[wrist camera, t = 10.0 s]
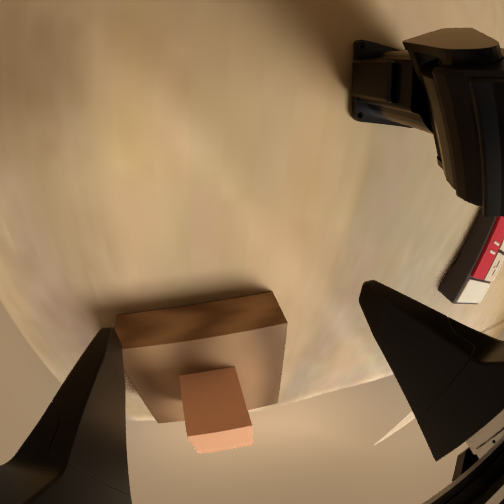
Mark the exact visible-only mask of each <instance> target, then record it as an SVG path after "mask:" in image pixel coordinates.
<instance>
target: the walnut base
mask: <svg viewBox="0 0 504 504" xmlns="http://www.w3.org/2000/svg"><path fill="white" fill-rule="evenodd" d="M115 331H116V333H117V335H118V337H119V339H120V341H121V344H122V352H123V366H124V371H125V373H126V374H127V376H128V378H129V379H130V381H131V383H132V384H133V386H134V388H135V389H136V391H137V392H138V394H139V396H140V397H141V399H142V400H143V402H144V403H145V405H146V406H147V408H148V409H149V411H150V412H151V414H152V415H153V417H154V418H155V419H156V421H157V422H158V423H165V422H176V421H184V420H185V418H184V411H183V404H182V396H181V388H180V380H179V375H187V374H194V373H200V372H206V371H212V370H218V369H224V368H229V367H235V368H236V372H237V375H238V379H239V382H240V386H241V389H242V393H243V396H244V400H245V403H246V407H247V410H250V409H255V408H259V407H263V406H268V405H272V404H276V403H278V398H279V390H280V383H281V375H282V367H283V358H284V350H285V341H286V332H287V321H286V319H285V317H284V314H283V312H282V310H281V308H280V306H279V304H278V302H277V300H276V298H275V296H274V294H273V292H267V293H261V294H256V295H250V296H244V297H238V298H232V299H226V300H220V301H214V302H208V303H201V304H195V305H188V306H181V307H175V308H168V309H160V310H153V311H146V312H138V313H130V314H122V315H117V319H116V326H115Z"/></svg>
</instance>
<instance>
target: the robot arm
mask: <svg viewBox="0 0 504 504" xmlns="http://www.w3.org/2000/svg"><path fill="white" fill-rule="evenodd" d="M402 42H403V45H404V47H405V50H408V51H400V50H397V49H394V48H390V47H387V46H384V45H380V44H377V43H373V42H369V41H366V40H356V41H355V42H354V62H353V74H352V94H353V100H352V117H353V119H354V120H356V121H359V122H369V123H378V124H387V125H395V126H402V127H409V128H413V127H414V128H417V129H420V130H423V131H426V132H429V133H432V134H433V135H434V139H435V144H436V149H437V154H438V156H437V161H438V165H439V166H440V167H441V168H442V169H443V170H444V174H445V177H446V180H447V181H448V182H449V184H450V185H451V186H452V187H453V188H454V189H455V190H456V195H457V196H458V197H460V198H462V199H463V200H465V201H467V202H469V203H472V204H474V205H477V206H480V207H483V215H484V216H485V217H493V216H502V217H504V49H503V48H500V45H499V42H498V41H496V40H494V39H492V38H491V37H489V36H487V35H485V34H483V33H481V32H479V31H477V30H475V29H473V28H444V29H440V30H436V31H433V32H430V33H426V34H423V35H420V36H417V37H414V38H410V39H407V40H405V41H402ZM360 44H361V45H362V48H360ZM358 113H360V116H359V117H358ZM359 303H360V306H361V308H362V311H363V313H364V315H365V317H366V320H367V322H368V324H369V327H370V329H371V331H372V334H373V336H374V338H375V340H376V342H377V343H378V345H379V347H380V349H381V351H382V352H383V354H384V356H385V358H386V360H387V362H388V364H389V366H390V367H391V369H392V371H393V373H394V375H395V377H396V379H397V381H398V383H399V385H400V387H401V389H402V391H403V393H404V395H405V397H406V399H407V401H408V403H409V405H410V407H411V409H412V411H413V413H414V415H415V417H416V419H417V422H418V424H419V426H420V428H421V430H422V432H423V435H424V437H425V439H426V441H427V443H428V446H429V448H430V450H431V452H432V455H433V457H434V459H435V461H438V460H439V459H441V458H442V457H444V456H445V455H447V454H448V453H450V452H451V451H453V450H454V449H455V448H457V447H458V446H460V445H461V444H462V443H464V442H465V441H466V443H467V444H468V446H469V447H468V448H467V449H465V450H464V451H463V452H462V453H461V454H459V455H458V457H457V462H456V466H455V471H454V475H453V479H452V481H453V482H452V483H451V484H450V485H448V486H447V487H445V488H444V489H443V490H441V491H440V492H439V493H437V494H436V495H435V496H433V497H432V498H430V499H429V500H427V501H426V502H424V503H423V504H504V341H501V340H497V339H495V338H493V337H490V336H488V335H486V334H484V333H481V332H479V331H476V330H474V329H472V328H470V327H467V326H465V325H463V324H461V323H459V322H457V321H455V320H453V319H451V318H449V317H447V316H445V315H443V314H442V313H440V312H438V311H436V310H434V309H432V308H430V307H428V306H426V305H424V304H422V303H420V302H418V301H416V300H414V299H412V298H410V297H408V296H406V295H404V294H402V293H400V292H398V291H396V290H394V289H392V288H389V287H387V286H385V285H383V284H381V283H379V282H377V281H375V280H370V281H366V282H364V283H363V285H362V289H361V293H360V296H359ZM125 422H126V421H125V378H124V366H123V352H122V344H121V341H120V339H119V337H118V335H117V333H116V331H115V329H114V328H113V327H112V326H109V327H102V328H101V329H100V330H99V331H98V333H97V334H96V336H95V337H94V338H93V340H92V341H91V343H90V344H89V346H88V347H87V348H86V350H85V351H84V353H83V354H82V356H81V357H80V359H79V360H78V361H77V363H76V364H75V366H74V367H73V369H72V370H71V372H70V373H69V375H68V376H67V378H66V380H65V381H64V383H63V384H62V386H61V387H60V389H59V390H58V392H57V394H56V395H55V397H54V398H53V400H52V402H51V403H50V405H49V406H48V408H47V410H46V411H45V413H44V414H43V416H42V418H41V419H40V421H39V422H38V424H37V425H36V426H35V428H34V429H33V431H32V432H31V434H30V435H29V436H28V437H27V439H26V440H25V442H24V443H23V444H22V446H21V447H20V449H19V450H18V452H17V453H16V454H15V456H14V457H13V458H12V459H11V460H10V461H8V462H7V463H5V464H3V465H1V466H0V504H132V501H131V496H130V495H131V494H130V486H129V475H128V463H127V450H126V449H127V448H126V425H125V424H126V423H125Z"/></svg>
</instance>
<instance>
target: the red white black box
mask: <svg viewBox="0 0 504 504" xmlns="http://www.w3.org/2000/svg"><path fill="white" fill-rule="evenodd" d="M503 261H504V217H502V216H493V217H485V216H484V215H483V207H482V208H481V210H480V213H479V215H478V217H477V219H476V221H475V223H474V225H473V227H472V229H471V232H470V234H469V236H468V238H467V240H466V242H465V244H464V246H463V248H462V250H461V252H460V254H459V257H458V258H457V260H456V262H455V264H454V265H452V267H451V268H450V270H449V272H448V273H447V275H446V277H445V278H444V280H443V282H442V283H441V285H440V286H439V288H438V291H439V292H441V293H442V294H443V295H444V296H445V297H446V298H447V299H448V300H449V301H451V302H452V303H453V304H478V303H480V302H481V300H482V298H483V297H484V295H485V293H486V291H487V290H488V288H489V286H490V282H493V281H494V279H495V277H496V275H497V273H498V271H499V269H500V267H501V265H502V263H503Z"/></svg>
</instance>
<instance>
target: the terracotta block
mask: <svg viewBox="0 0 504 504" xmlns="http://www.w3.org/2000/svg"><path fill="white" fill-rule="evenodd" d="M179 380H180V388H181V396H182V404H183V411H184V418H185V425H186V431H187V436H188V438H189V440H190V441H191V443H192V445H193V446H194V448H195V449H196V451H197V453H198V454H203V453H210V452H216V451H223V450H228V449H234V448H239V447H244V446H249V445H253V438H252V437H253V436H252V424H251V420H250V417H249V414H248V410H247V407H246V403H245V400H244V396H243V393H242V389H241V386H240V382H239V379H238V375H237V372H236V368H235V367H229V368H224V369H218V370H212V371H206V372H200V373H194V374H187V375H179Z"/></svg>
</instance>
